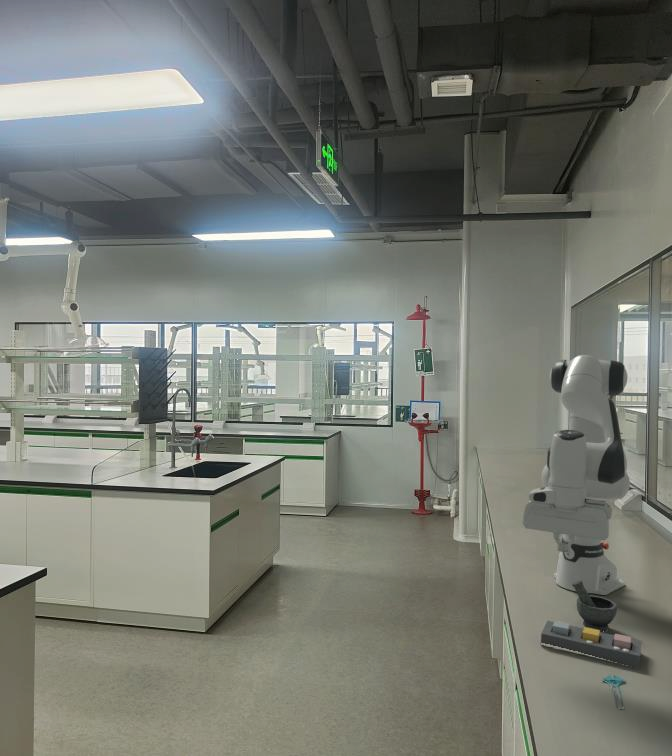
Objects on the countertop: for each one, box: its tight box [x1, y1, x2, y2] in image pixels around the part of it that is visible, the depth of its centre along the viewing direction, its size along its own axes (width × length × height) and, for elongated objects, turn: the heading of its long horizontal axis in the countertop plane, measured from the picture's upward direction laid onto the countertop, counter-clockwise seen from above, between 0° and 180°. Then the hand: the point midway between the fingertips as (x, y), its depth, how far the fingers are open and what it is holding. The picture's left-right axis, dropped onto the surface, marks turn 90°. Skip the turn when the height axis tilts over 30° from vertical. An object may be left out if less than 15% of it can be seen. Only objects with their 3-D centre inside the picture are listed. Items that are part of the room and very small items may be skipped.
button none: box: [552, 620, 571, 636], centre depth 158 cm, size 4×4×2 cm
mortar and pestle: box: [572, 580, 618, 633], centre depth 167 cm, size 11×9×12 cm
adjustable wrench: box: [602, 674, 627, 699], centre depth 134 cm, size 14×1×5 cm
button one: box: [582, 626, 600, 643], centre depth 154 cm, size 4×4×2 cm
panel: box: [540, 620, 642, 669], centre depth 154 cm, size 22×9×3 cm, turn 62°
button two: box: [614, 633, 632, 650], centre depth 151 cm, size 4×4×2 cm
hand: (564, 551), depth 157 cm, fingers closed
